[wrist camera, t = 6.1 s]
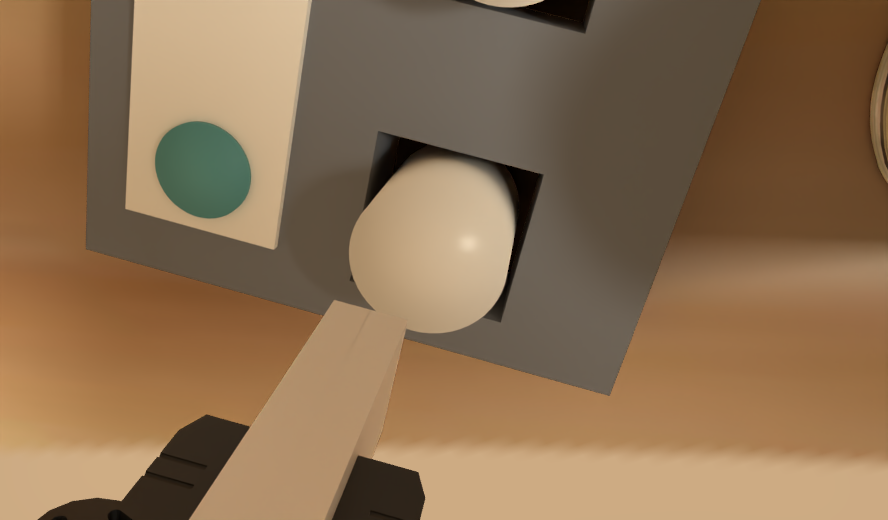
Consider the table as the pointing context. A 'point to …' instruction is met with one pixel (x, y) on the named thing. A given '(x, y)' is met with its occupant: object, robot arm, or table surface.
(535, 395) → the table surface
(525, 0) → the middle button
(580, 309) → the button board
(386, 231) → the end button
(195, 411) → the table surface
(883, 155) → the coffee can
